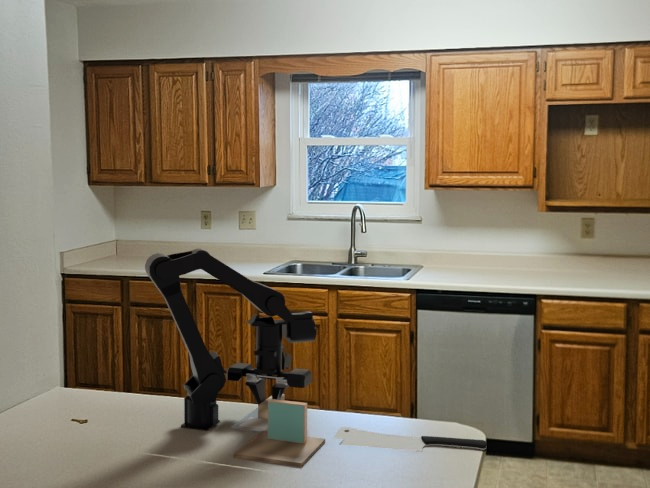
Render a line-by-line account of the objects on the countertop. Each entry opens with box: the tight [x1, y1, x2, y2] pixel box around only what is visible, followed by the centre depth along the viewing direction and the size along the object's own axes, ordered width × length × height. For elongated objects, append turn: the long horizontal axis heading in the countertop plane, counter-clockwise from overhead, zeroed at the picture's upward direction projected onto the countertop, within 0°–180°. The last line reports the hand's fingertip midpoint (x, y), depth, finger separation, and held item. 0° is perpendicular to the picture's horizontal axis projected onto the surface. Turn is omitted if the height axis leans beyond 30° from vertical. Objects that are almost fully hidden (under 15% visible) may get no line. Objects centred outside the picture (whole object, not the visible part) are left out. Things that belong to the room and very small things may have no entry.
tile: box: [268, 399, 308, 444], centre depth 159 cm, size 8×2×8 cm, turn 72°
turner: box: [239, 393, 286, 431], centre depth 174 cm, size 6×16×4 cm, turn 162°
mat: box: [229, 407, 268, 433], centre depth 175 cm, size 10×17×1 cm, turn 162°
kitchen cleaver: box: [333, 426, 487, 452], centre depth 160 cm, size 31×2×10 cm
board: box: [233, 431, 326, 468], centre depth 156 cm, size 14×14×1 cm
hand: (268, 412), depth 176 cm, fingers closed on turner, 2 cm apart
